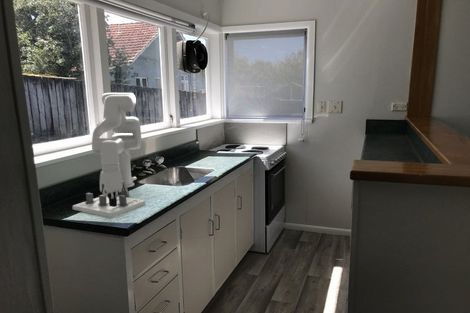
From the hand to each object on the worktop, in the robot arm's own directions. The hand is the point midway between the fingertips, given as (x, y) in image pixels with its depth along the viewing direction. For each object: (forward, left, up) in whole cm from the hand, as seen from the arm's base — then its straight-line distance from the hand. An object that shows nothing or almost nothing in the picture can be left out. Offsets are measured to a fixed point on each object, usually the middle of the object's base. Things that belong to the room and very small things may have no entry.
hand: (113, 205), depth 171 cm
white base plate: (-6, -9, -4) cm, 11 cm away
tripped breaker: (-6, 0, -1) cm, 6 cm away
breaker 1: (-2, -18, -1) cm, 18 cm away
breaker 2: (-2, -9, -1) cm, 9 cm away
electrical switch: (-24, -18, -4) cm, 30 cm away
